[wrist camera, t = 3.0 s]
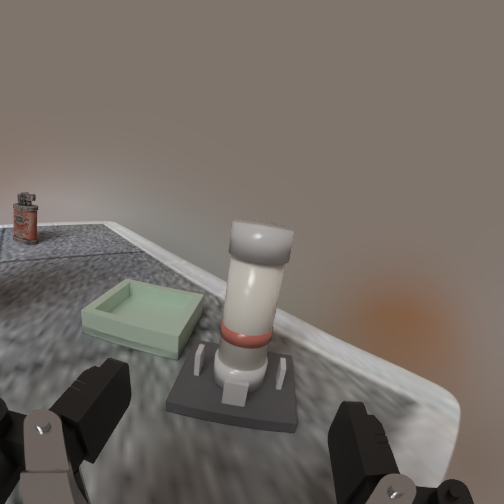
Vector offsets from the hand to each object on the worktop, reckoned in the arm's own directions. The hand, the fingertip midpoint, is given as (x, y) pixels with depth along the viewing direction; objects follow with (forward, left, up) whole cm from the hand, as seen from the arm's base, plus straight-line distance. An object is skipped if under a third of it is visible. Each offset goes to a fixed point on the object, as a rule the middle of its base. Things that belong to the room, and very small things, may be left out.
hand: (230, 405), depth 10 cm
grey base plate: (0, +11, -8) cm, 14 cm away
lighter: (-48, +35, -8) cm, 60 cm away
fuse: (0, +11, -7) cm, 13 cm away
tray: (-11, +18, -8) cm, 22 cm away
